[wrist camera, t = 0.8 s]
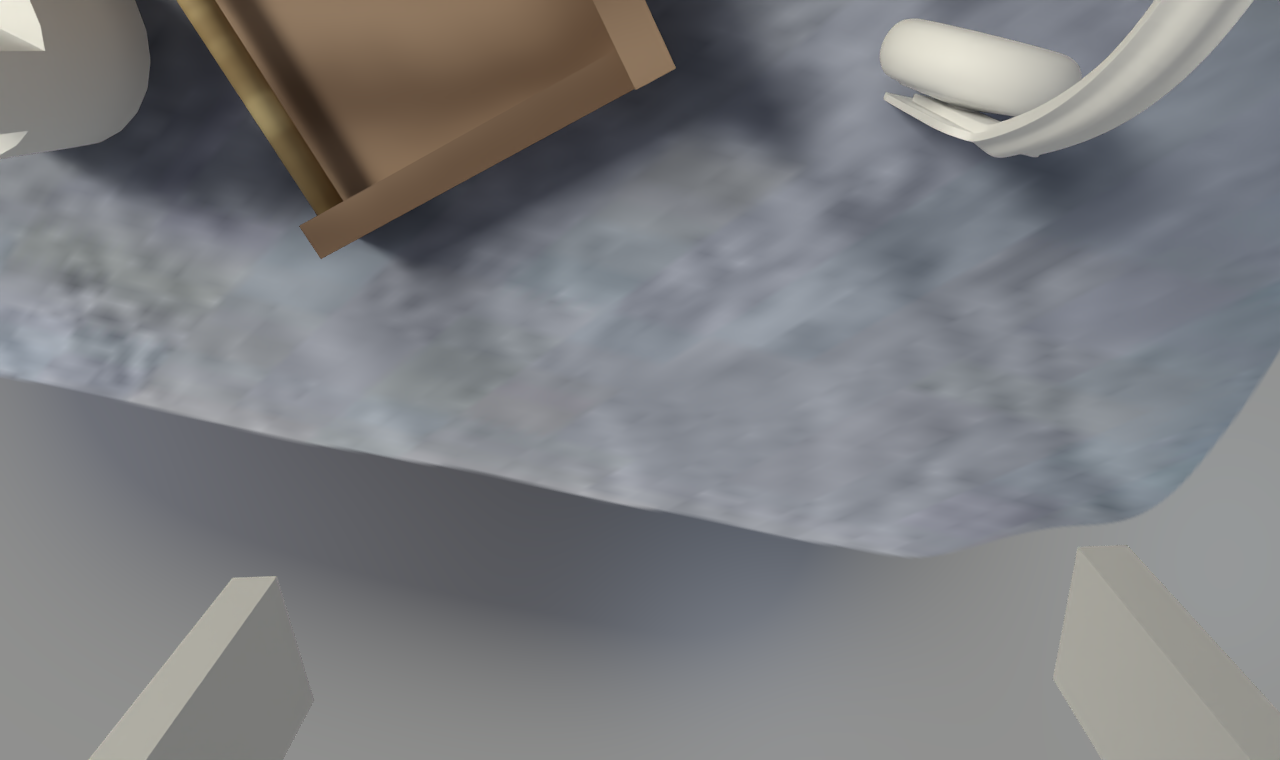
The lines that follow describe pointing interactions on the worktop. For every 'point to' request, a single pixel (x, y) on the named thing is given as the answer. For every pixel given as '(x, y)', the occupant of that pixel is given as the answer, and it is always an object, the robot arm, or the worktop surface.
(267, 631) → the robot arm
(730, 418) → the worktop surface
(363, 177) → the caddy
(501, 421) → the worktop surface
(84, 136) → the cylinder with rectangular tab
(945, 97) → the headset
